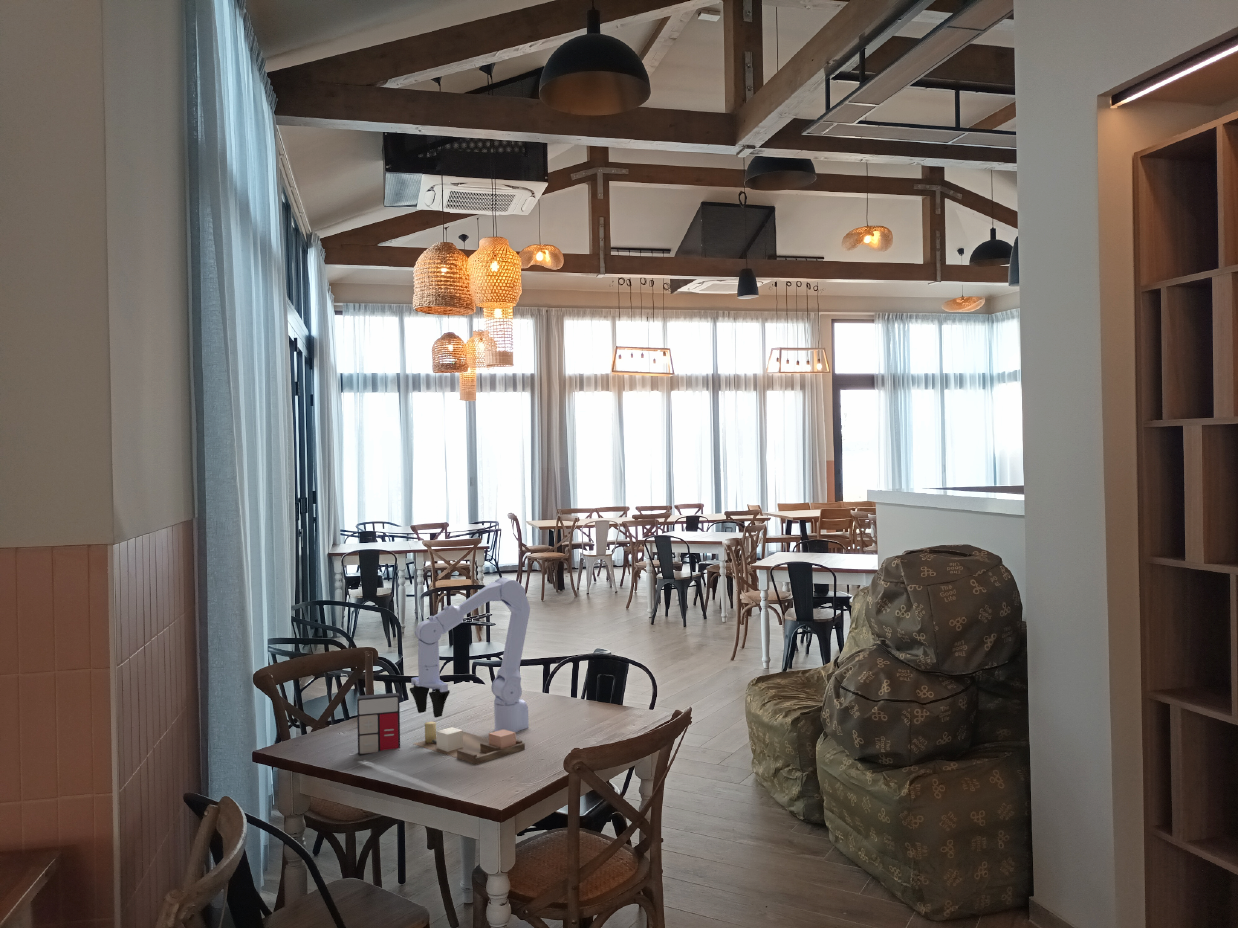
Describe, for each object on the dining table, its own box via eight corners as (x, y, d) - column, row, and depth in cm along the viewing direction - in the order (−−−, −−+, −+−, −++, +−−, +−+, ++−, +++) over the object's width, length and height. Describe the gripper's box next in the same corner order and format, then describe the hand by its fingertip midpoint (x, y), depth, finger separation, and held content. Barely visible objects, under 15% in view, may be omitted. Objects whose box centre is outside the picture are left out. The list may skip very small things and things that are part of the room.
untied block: (503, 745, 235) (503, 729, 235) (515, 749, 231) (515, 732, 231) (489, 750, 231) (488, 733, 231) (501, 754, 228) (500, 736, 228)
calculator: (357, 756, 232) (356, 699, 233) (358, 751, 236) (357, 695, 237) (400, 751, 235) (399, 695, 235) (400, 747, 239) (399, 692, 240)
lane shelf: (460, 734, 251) (460, 723, 251) (524, 752, 231) (524, 741, 232) (413, 747, 239) (412, 736, 239) (476, 768, 220) (476, 756, 220)
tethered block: (435, 738, 244) (434, 720, 244) (463, 747, 235) (462, 728, 235) (419, 742, 240) (419, 724, 240) (447, 751, 231) (447, 732, 231)
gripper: (401, 664, 243) (402, 713, 243) (432, 670, 233) (433, 721, 233) (423, 659, 248) (424, 707, 248) (453, 666, 238) (454, 716, 238)
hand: (430, 714), depth 241 cm, fingers open, 7 cm apart
